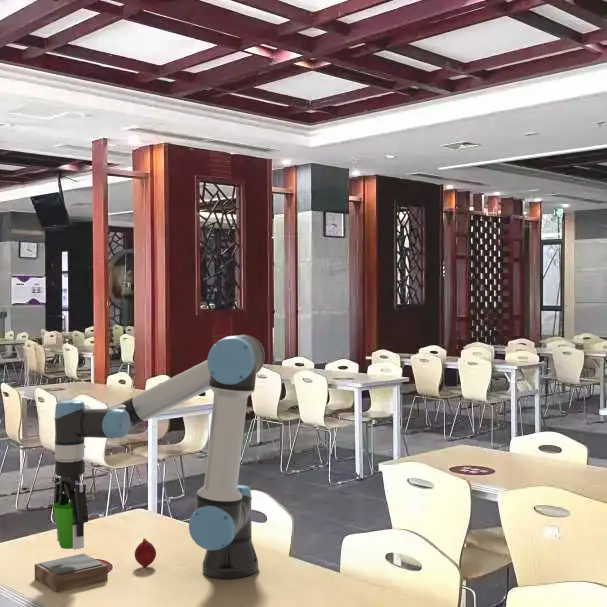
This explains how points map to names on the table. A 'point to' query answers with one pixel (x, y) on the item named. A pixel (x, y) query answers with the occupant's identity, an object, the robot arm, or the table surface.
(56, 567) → the flat stove
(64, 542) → the cup
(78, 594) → the table surface
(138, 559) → the onion
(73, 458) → the robot arm
